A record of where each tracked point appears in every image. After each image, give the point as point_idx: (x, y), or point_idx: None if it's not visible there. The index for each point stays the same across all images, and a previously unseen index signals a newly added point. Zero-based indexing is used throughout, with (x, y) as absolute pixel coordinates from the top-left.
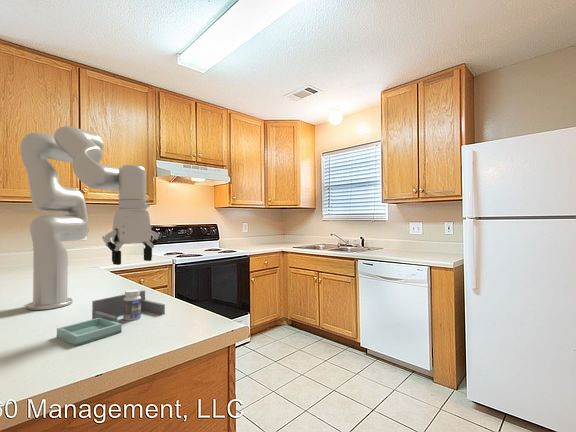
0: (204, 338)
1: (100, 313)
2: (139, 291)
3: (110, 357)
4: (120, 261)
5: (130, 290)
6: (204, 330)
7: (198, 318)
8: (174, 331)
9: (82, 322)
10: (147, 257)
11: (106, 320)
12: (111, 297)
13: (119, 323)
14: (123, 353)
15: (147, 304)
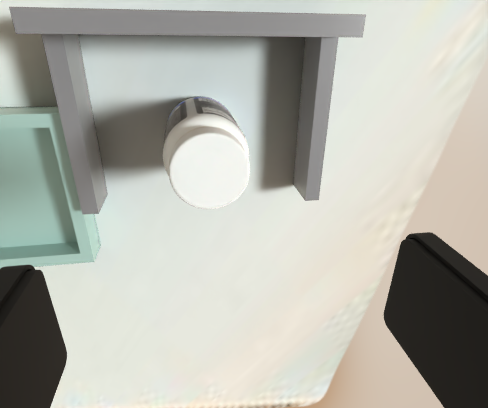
0: (218, 404)
1: (60, 98)
2: (236, 196)
3: None
4: (48, 388)
5: (205, 158)
6: (254, 373)
7: (319, 301)
8: (207, 337)
9: None
10: (407, 319)
11: (65, 181)
12: (139, 21)
13: (90, 253)
14: None
15: (311, 86)
